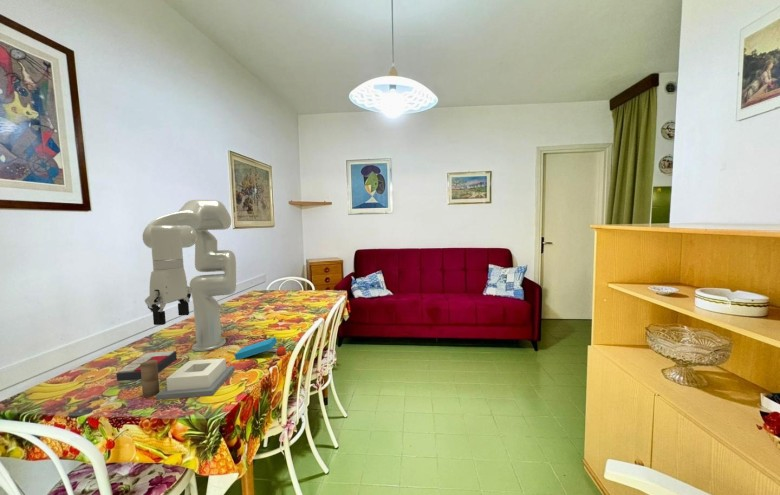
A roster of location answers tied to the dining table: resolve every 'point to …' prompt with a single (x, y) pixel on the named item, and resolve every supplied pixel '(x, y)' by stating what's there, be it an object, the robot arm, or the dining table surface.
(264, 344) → the lever
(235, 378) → the dining table surface
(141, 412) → the dining table surface
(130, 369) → the black red box
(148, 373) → the walnut peg
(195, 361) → the socket block
